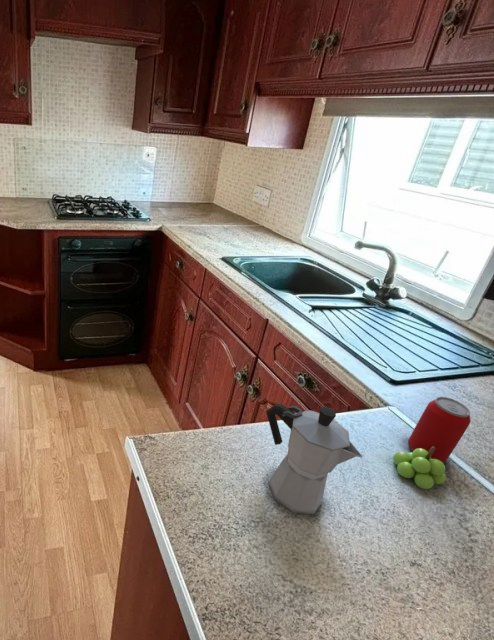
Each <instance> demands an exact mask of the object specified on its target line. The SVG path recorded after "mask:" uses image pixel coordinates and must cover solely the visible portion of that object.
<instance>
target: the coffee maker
mask: <svg viewBox="0 0 494 640" xmlns="http://www.w3.org/2000/svg"><path fill="white" fill-rule="evenodd" d="M276 415H277V416H278V417H279V419H280V420H281V421H282V422H283V423H284V424H286V426H287V427H288V428H289V429H290V434H289V438H288V443H287V454H286V455H285V456H284V457H283V459H282V460H281V462H280V463H279V465H278V466H277V468H276V470H275V471H274V473H273V474H272V476H271V477H270V479H269V480H268V482H267V483H268V485H269V488H270V491H271V494H272V496H273V499H274V500H275V501H277V502H278V503H279V504H281V505H282V506H283V507H285V508H286V509H288V511H290V512H291V513H292V514H293V513H295V514H304V515H314V514H315V513H316V512H317V511H318V509H319V508H320V507H321V505H322V504H323V499H324V494H325V488H326V484H327V478H328V476H329V475H328V474H329V473H332V471H334V469H335V468H336V467H337V466H338V465H340V464H342V463H345V462H347V461H349V460H352V459H354V458H356V457H357V458H361V459H362V458H363V455H362V454H361V453H360V452H359V450H358V449H357V447H355V445H354V444H353V443H352V442H351V440H350V432H349V430H347V429H346V428H345V427H344V426H343V425H342V424H340V423H339V422H338V421H337V420H336V419H335V418H336V417H337V413H336V411H335V410H334V409H332V408H330V407H328V406H321V407H319V412H317V411H314V410H311V409H308V410H305V411H302V408H300V407H299V406H296V405H291V406H289V407H287V406H285V405H283V404H280V403H275V404H274V405H273V406H271V407H270V408H268V409H267V410H266V416H267V420H268V425H269V427H270V432H271V435H272V440H273V443H274V445H275V446H277V445H281V444H282V443H283V439H282V438H283V437H282V435H281V430H280V428H279V423H278V420H277V416H276Z"/></svg>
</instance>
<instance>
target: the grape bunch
mask: <svg viewBox="0 0 494 640" xmlns="http://www.w3.org/2000/svg"><path fill="white" fill-rule="evenodd" d="M434 450H435V447H431V449H430V450H429V452H428V451H426V450H425V449H422V448H418V449H415V450H414V451H413V450H412V451H411V452H409V451H408V452H403V451H397V452H395V454H394V455H393V457H392V460H393V463H394V464H395V465H396V470H397V472H398V474H399V475H400V476H401V477H403V478H406V479H411V478H413V480H414V483H415V485H416V486H417V487H418V488H420V489H422V490H430V489H432V488H433V486H434V485H443V484H444V483H445V482H446V481H447V475H446V473H445V472H446V465H445V464H444V462H441V461H440V460H437V459H431V455H432V454H433V452H434Z"/></svg>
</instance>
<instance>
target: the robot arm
mask: <svg viewBox="0 0 494 640" xmlns="http://www.w3.org/2000/svg"><path fill="white" fill-rule="evenodd" d="M481 297H482V299H483V300H484V299H486V300H489V301H493V302H494V274H493V275H492V277H491V279H490V280H489V283H488V284H487V286H486V288H485V290H484V291H483V293H482V295H481Z"/></svg>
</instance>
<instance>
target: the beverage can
mask: <svg viewBox="0 0 494 640" xmlns="http://www.w3.org/2000/svg"><path fill="white" fill-rule="evenodd" d="M470 424H471V410H470V409H469V408H468V407H467V406H466V405H464V404H463V403H462V402H460V401H458V400H456V399H453V398H450V397H446V396H438V397H436V398H435V399H433V400H431V401H429V402H428V404H427V405H426V407H425V409H424V410H423V412H422V414H421V415H420V418H419V420H418V421H417V423H416V425H415V427H414V429H413V430H412V432H411V434H410V436H409V438H408V439H407V440H408V441H407V444H408V446H409V448H410V449H411V450H412V452H413V451H414V450H415V449H418V448H422V449H425V450H426V451H428V452H429V450H430V449H431V447H435V450H434V452H433V454H432V455H431V459H437V460H440V461H441V462H442V463H445V462H447V460H448V459H449V458H450V456H451V455H452V453H453V452H454V450H455V448H456V447H457V446H458V444H459V442H460V440H461V439H462V437H463V436H464V434H465V432H466V431H467V429H468V428H469V426H470Z"/></svg>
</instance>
